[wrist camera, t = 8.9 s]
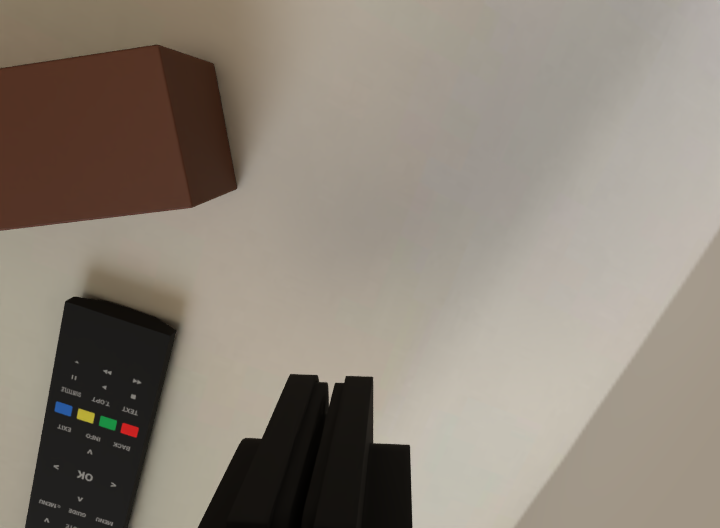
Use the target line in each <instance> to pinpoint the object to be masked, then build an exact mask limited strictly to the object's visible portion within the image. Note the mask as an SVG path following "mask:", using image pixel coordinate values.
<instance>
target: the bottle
mask: <svg viewBox="0 0 720 528" xmlns="http://www.w3.org/2000/svg"><path fill="white" fill-rule="evenodd" d="M236 189H237V185H236V180H235V175H234V169H233V164H232V159H231V153H230V148H229V143H228V137H227V132H226V126H225V121H224V116H223V110H222V105H221V100H220V94H219V89H218V84H217V78H216V73H215V68H214V64H213V63H210V62H207V61H204V60H201V59H198V58H196V57H193V56H190V55H187V54H184V53H181V52H178V51H175V50H172V49H169V48H166V47H163V46H160V45H152V46H145V47H138V48H132V49H125V50H118V51H112V52H105V53H99V54H92V55H85V56H79V57H72V58H66V59H59V60H52V61H46V62H39V63H33V64H26V65H19V66H13V67H6V68H0V231H1V230H10V229H18V228H26V227H35V226H43V225H52V224H60V223H68V222H77V221H85V220H93V219H102V218H110V217H119V216H127V215H135V214H144V213H152V212H160V211H169V210H177V209H185V208H192V207H195V206H197V205H199V204H202V203H204V202H207V201H209V200H211V199H214V198H216V197H219V196H221V195H224V194H226V193H228V192H231V191H233V190H236Z"/></svg>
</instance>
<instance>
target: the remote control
mask: <svg viewBox="0 0 720 528" xmlns="http://www.w3.org/2000/svg"><path fill="white" fill-rule="evenodd" d="M175 334H176V330H175V329H174V328H172V327H170V326H169V325H167V324H165V323H164V322H162V321H161V320H159V319H157V318H156V317H153V316H150V315H147V314H145V313H142V312H139V311H136V310H134V309H131V308H127V307H124V306H120V305H117V304H114V303H110V302H107V301H101V300H94V299H87V298H81V297H72V298H71V299H69V300H67V301H65V306H64V312H63V317H62V323H61V328H60V334H59V340H58V345H57V351H56V357H55V362H54V368H53V373H52V379H51V385H50V390H49V396H48V402H47V407H46V413H45V418H44V424H43V430H42V435H41V441H40V447H39V452H38V458H37V463H36V469H35V475H34V480H33V486H32V492H31V497H30V503H29V508H28V514H27V520H26V525H25V528H127V527H128V523H129V519H130V515H131V511H132V507H133V503H134V499H135V495H136V491H137V487H138V483H139V479H140V475H141V471H142V467H143V463H144V459H145V455H146V451H147V447H148V443H149V439H150V435H151V431H152V427H153V423H154V419H155V415H156V411H157V407H158V403H159V398H160V394H161V390H162V386H163V382H164V378H165V374H166V370H167V366H168V362H169V358H170V354H171V350H172V346H173V342H174V338H175Z"/></svg>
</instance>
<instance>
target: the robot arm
mask: <svg viewBox="0 0 720 528" xmlns="http://www.w3.org/2000/svg"><path fill="white" fill-rule="evenodd" d="M198 528H412V500H411V465H410V445H399V444H375V443H373V377H361V376H346V378H345V382H344V383H335V385H334V389H333V393H332V397H331V401H330V405H329V395H328V383H325V382H319V379H318V375H298V374H290V376H289V378H288V380H287V382H286V384H285V387H284V389H283V391H282V394H281V396H280V398H279V401H278V403H277V405H276V407H275V410H274V412H273V414H272V417H271V419H270V421H269V424H268V426H267V428H266V431H265V433H264V435H263V437H262V439H256V438H245V439H243V440H242V441H241V443H240V444H239V446H238V448H237V450H236V452H235V454H234V456H233V458H232V460H231V462H230V464H229V466H228V468H227V470H226V472H225V474H224V476H223V478H222V480H221V482H220V484H219V486H218V488H217V490H216V492H215V494H214V496H213V498H212V500H211V502H210V504H209V506H208V508H207V510H206V512H205V514H204V516H203V518H202V520H201V522H200V524H199V526H198Z"/></svg>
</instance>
